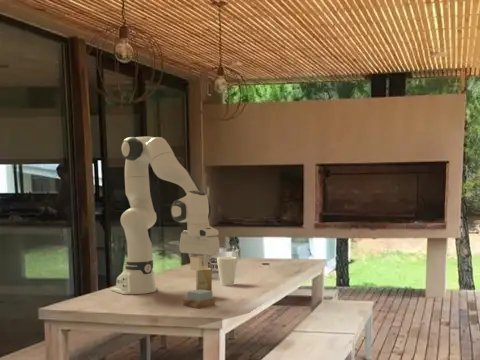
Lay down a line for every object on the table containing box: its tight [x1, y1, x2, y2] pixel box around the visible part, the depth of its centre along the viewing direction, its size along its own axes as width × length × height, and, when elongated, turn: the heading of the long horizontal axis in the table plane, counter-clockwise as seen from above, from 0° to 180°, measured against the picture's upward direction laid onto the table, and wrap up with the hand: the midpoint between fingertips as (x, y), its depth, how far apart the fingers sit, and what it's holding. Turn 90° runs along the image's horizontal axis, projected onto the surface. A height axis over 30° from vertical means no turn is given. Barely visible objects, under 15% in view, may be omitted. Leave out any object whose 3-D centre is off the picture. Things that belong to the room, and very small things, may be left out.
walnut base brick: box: [182, 298, 216, 309], centre depth 226 cm, size 9×9×3 cm
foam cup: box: [216, 256, 238, 287], centre depth 272 cm, size 10×9×13 cm
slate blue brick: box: [187, 289, 213, 301], centre depth 226 cm, size 7×7×3 cm
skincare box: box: [195, 267, 213, 292], centre depth 243 cm, size 6×4×12 cm
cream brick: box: [189, 255, 209, 271], centre depth 226 cm, size 5×5×5 cm
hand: (199, 265), depth 226 cm, fingers closed on cream brick, 5 cm apart
